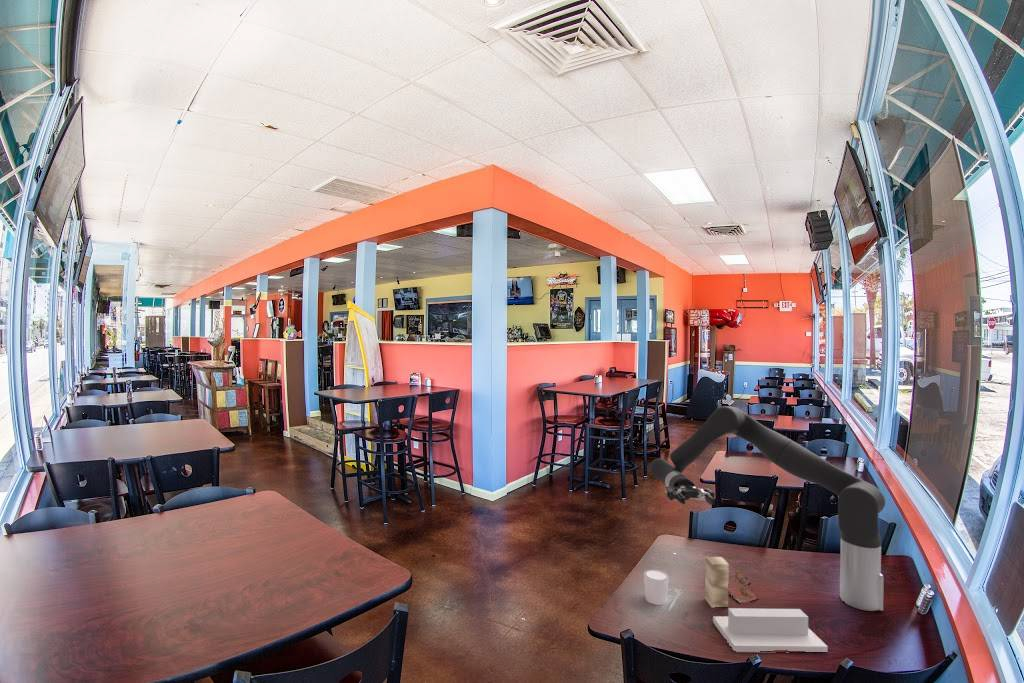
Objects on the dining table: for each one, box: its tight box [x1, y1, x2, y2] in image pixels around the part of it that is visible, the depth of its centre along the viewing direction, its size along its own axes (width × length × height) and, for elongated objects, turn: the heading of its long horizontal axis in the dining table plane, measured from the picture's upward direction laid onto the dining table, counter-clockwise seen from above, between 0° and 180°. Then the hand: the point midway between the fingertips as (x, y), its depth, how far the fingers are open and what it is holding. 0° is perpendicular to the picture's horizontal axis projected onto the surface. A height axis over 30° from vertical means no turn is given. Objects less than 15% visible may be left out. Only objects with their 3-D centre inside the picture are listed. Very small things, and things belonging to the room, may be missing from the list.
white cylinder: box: [643, 569, 670, 606], centre depth 136 cm, size 7×7×7 cm
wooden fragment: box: [728, 568, 755, 604], centre depth 147 cm, size 26×11×1 cm, turn 167°
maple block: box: [704, 556, 730, 609], centre depth 135 cm, size 4×4×12 cm
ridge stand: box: [712, 607, 829, 653], centre depth 120 cm, size 22×12×6 cm, turn 90°
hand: (698, 501), depth 147 cm, fingers open, 8 cm apart
